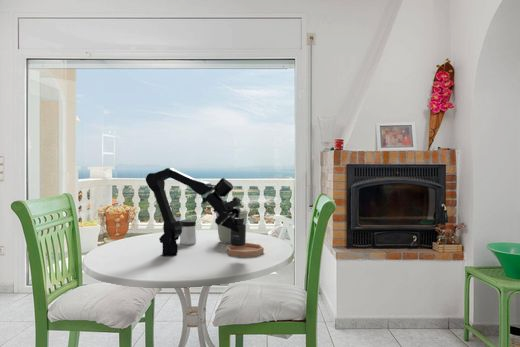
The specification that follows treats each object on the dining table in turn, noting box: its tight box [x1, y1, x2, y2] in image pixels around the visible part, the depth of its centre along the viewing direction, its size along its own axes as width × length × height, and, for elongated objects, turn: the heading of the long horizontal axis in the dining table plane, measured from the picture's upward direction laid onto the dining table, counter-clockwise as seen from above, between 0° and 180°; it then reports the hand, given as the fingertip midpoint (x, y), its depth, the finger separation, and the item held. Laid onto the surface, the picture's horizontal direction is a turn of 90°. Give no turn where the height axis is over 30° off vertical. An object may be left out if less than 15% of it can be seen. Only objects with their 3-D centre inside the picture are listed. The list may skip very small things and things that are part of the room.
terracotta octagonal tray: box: [225, 242, 264, 258], centre depth 175 cm, size 17×17×2 cm
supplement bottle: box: [229, 217, 247, 246], centre depth 161 cm, size 7×7×12 cm
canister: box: [214, 207, 249, 245], centre depth 197 cm, size 18×18×21 cm
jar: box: [179, 219, 197, 246], centre depth 194 cm, size 9×8×12 cm
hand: (241, 230), depth 161 cm, fingers closed on supplement bottle, 7 cm apart
